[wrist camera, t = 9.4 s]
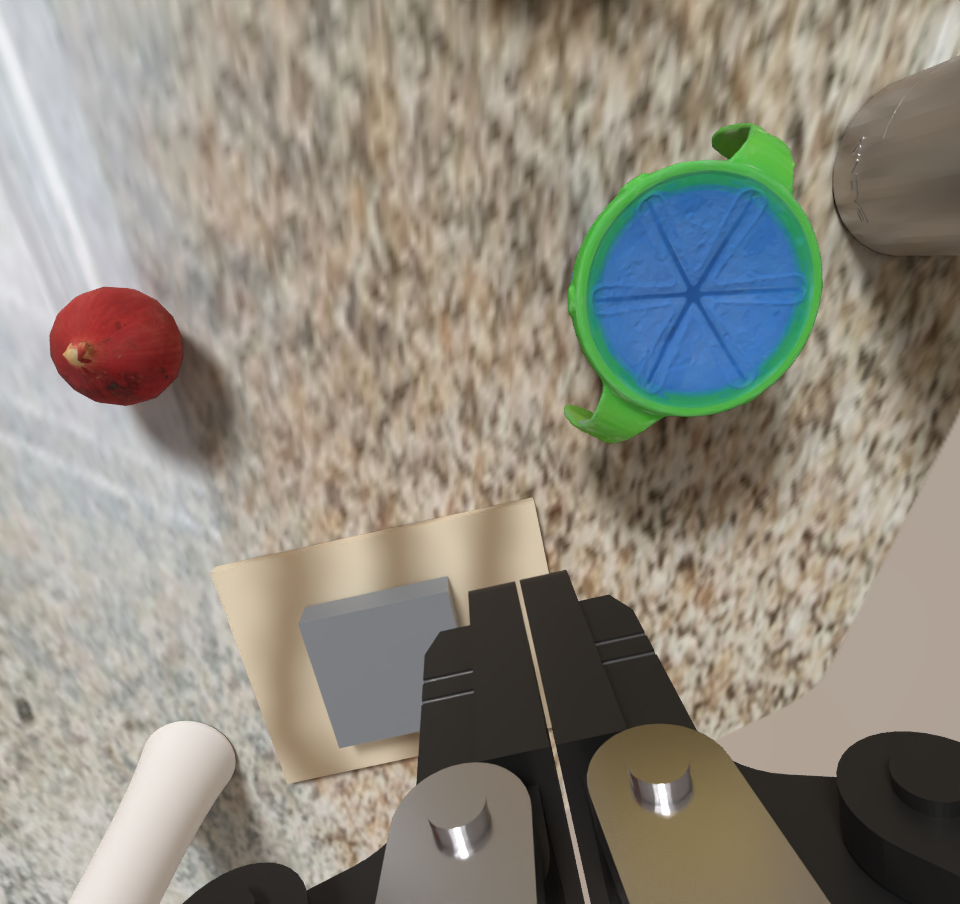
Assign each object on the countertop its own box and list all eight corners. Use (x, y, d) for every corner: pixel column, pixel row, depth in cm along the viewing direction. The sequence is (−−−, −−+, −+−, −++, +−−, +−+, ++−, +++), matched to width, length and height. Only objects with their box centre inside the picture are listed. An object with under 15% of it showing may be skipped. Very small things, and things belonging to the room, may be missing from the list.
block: (447, 591, 39) (297, 624, 39) (479, 718, 41) (339, 748, 41) (447, 575, 41) (305, 606, 41) (478, 697, 43) (344, 725, 43)
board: (532, 497, 40) (534, 501, 39) (576, 713, 45) (579, 721, 44) (214, 566, 41) (210, 572, 40) (290, 774, 45) (287, 783, 44)
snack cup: (643, 102, 35) (720, 37, 25) (793, 219, 36) (920, 203, 27) (480, 353, 38) (491, 384, 28) (626, 448, 40) (684, 508, 30)
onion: (221, 373, 37) (162, 401, 30) (126, 403, 38) (43, 439, 30) (178, 271, 36) (103, 273, 28) (79, 304, 36) (-22, 314, 28)
